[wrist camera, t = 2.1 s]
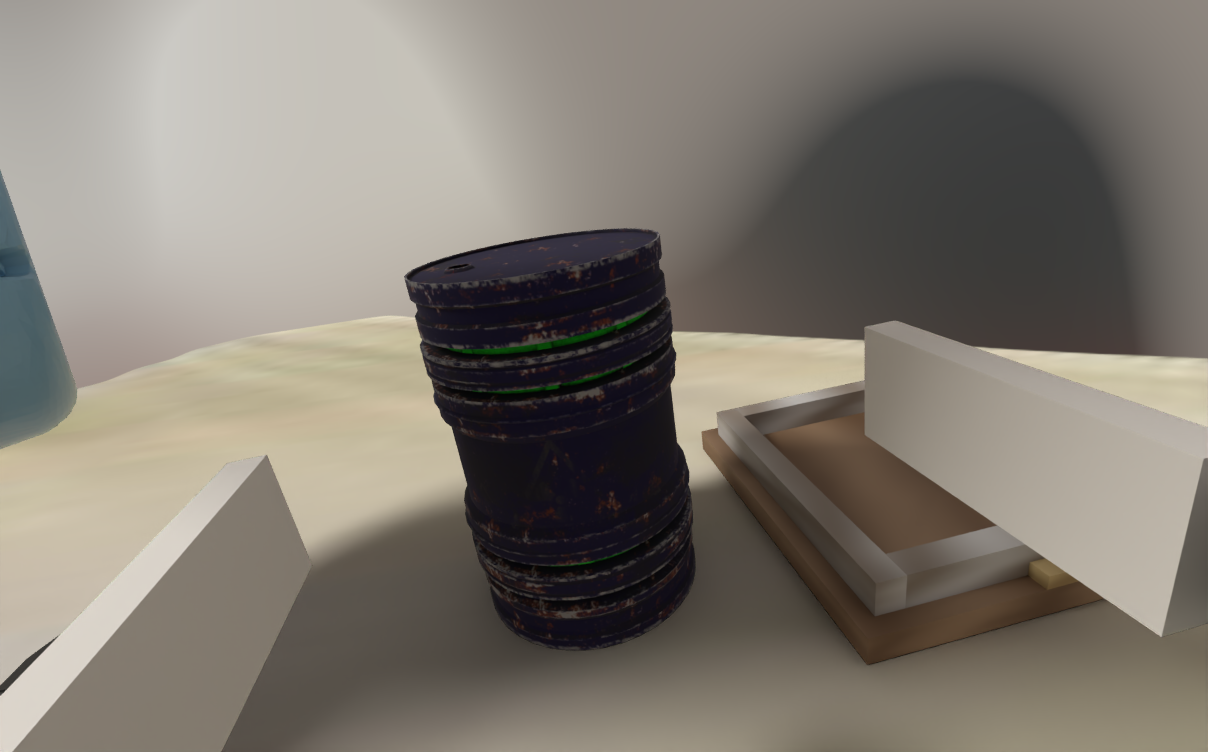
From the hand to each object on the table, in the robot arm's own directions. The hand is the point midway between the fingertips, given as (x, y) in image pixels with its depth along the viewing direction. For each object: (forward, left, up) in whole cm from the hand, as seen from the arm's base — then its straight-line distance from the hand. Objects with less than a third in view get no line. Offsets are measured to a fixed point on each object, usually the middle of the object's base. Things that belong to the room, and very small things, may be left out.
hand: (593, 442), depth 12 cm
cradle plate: (+17, +11, -12) cm, 23 cm away
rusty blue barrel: (0, +11, -12) cm, 16 cm away
